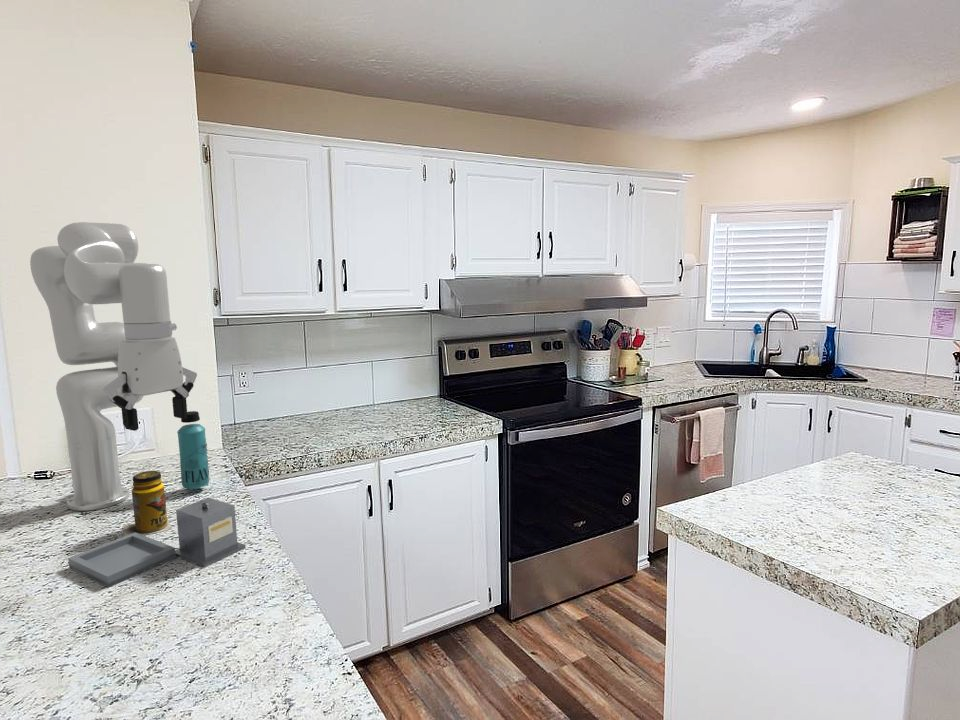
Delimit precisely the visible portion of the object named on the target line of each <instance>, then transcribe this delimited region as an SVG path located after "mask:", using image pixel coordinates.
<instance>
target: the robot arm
mask: <svg viewBox="0 0 960 720" xmlns="http://www.w3.org/2000/svg"><path fill="white" fill-rule="evenodd" d="M57 234H58V235H57V239H56V240H57V244H58V245H52V246H44V247H40V248H37V249H36V250H34V251H33V252H32V254H31V255H30V261H29V262H30V264H29V265H30V270H31V271H30V272H31V276H32V279H33V281H34V283H35V286H36V288H37V289H38V292H39V293H40V295H41V296H42V298H43V300H44V301H45V304H46V306H47V310H48V311H49V316H50V323H51V328H52V334H53V338H54V344H55V349H56V353H57V356H58V358H59V360H60V361H61V362H62V363H63V364H65V365H67V366H68V365H69V366H85V365H93V364H94V365H95V364H104V363H114V365H115V366H112V367H104V368H103V367H102V368H92V369H85V370H78V371H73V372H70V373H67V374H64V375H63V376H61V377H60V378H59V379H58V380H57V382H56V386H55V389H56V397H57V400H58V403H59V405H60V409H61V413H62V416H63V421H64V426H65V431H66V440H67V448H68V457H69V458H68V459H69V465H70V473H71V481H72V482H71V488H72V490H73V491H72V492H73V496H71V497H69V498H68V500H66V506H67V509H69V510H73V511H80V512H81V511H83V512H84V511H95V510H99V509H100V510H101V509H104V508H109V507H111V506H115V505H117V504H120V503H122V502H124V501H125V500H127V499H128V498H129V497H130V490H129V489H128V488H126V487H123V486H122V483H121V475H120V474H121V471H120V466H119V463H120V462H119V454H118V447H117V446H118V445H117V436H116V429H115V425H114V423H113V422H112V421H111V420H110V419H109V418H108V417H106V416H105V415H103V414H102V413H101V411H103V410H108V409H111V408H116V407H117V408H118V409H121V417H122V419H121V420H122V424H123V426H124V428H125V429H126V430H129V431H134V432H136V431H138V430H139V419H138V410H137V408H136V407H135V408H134V406H135V405H136V404H137V403H140V402H141V401H142V399H144V397H145V396H149V395H155V394H160V393H166V392H171V393H172V394H173V395H174V396H173V397H172V399H171V401H172V410H173V416H174V418H177V419H181V418H182V419H185V418H187V412H188V405H187V398H188V397H189V396H190V392H191V391H192V390H193V388H194V383H195V382H196V379H197V376H198V374H197V372H196V371H193V370H190V369H187V368H186V367H183V364H182V359H181V354H180V350H179V346H178V343H177V341H176V337H173V331H176V330H177V329H178V328H177V324H176V323H172V321H171V313H170V302H169V301H170V300H169V291H168V277H167V271H166V269H165V268H164V266H162V265H161V264H156V263H144V262H135V261H136V259H137V256H138V253H139V242H138V241H139V240H138V238H137V235H136V234H135V232H134V231H133V230H132V228H130V227H129V226H126V225H125V224H122V223H109V222H108V223H107V222H105V223H104V222H86V221H83V222H81V221H80V222H72V223H69V224H67V225H65V226H64V227H62V228H61V229H60V230H59V232H58V233H57ZM109 304H110V305H111V304H112V305H113V304H121V309H122V311H121V312H122V322H120V321H108V322H98V321H97V320H96V317H95V311H94V307H93V305H109ZM184 377H185V379H184ZM184 380H185V381H184Z"/></svg>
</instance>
